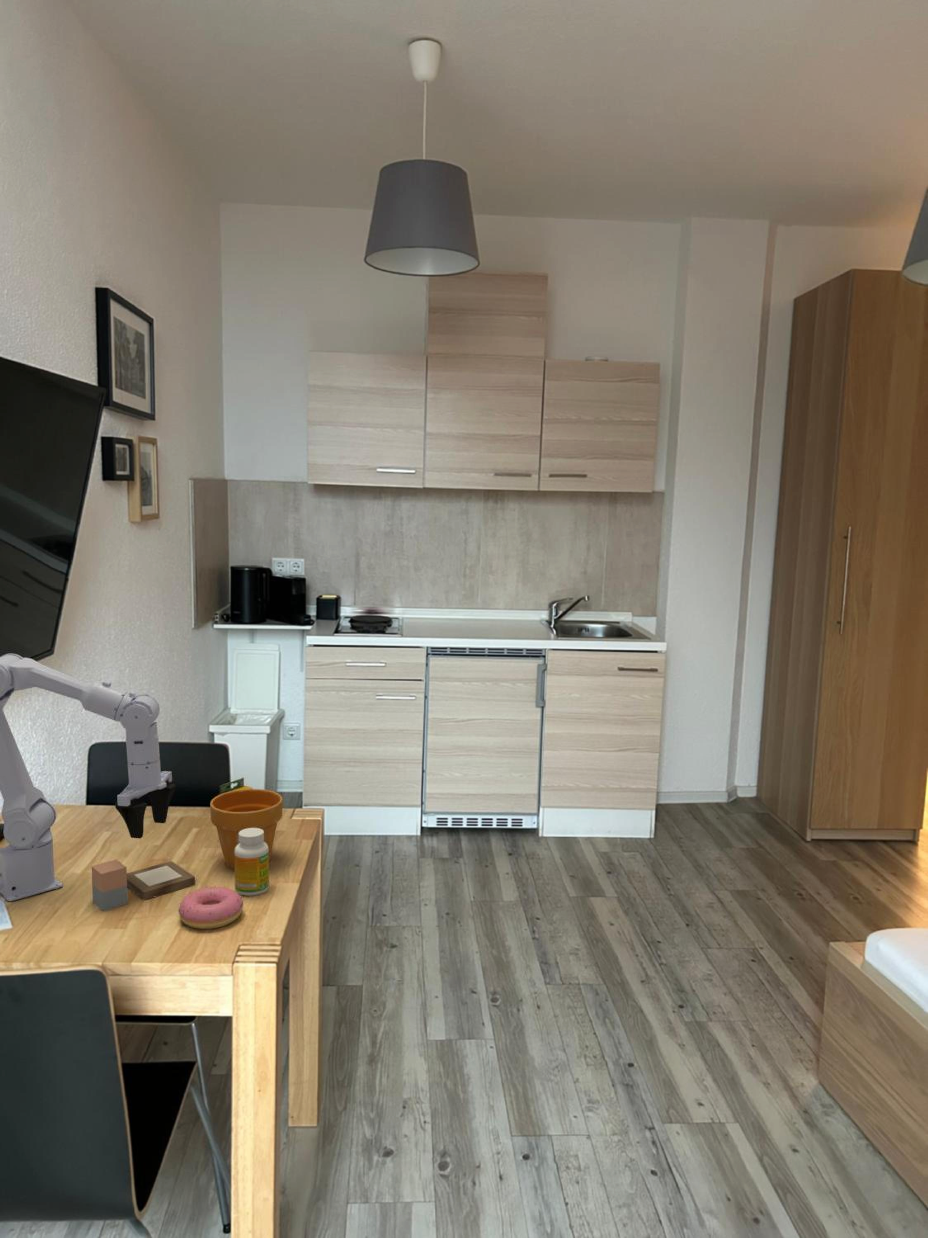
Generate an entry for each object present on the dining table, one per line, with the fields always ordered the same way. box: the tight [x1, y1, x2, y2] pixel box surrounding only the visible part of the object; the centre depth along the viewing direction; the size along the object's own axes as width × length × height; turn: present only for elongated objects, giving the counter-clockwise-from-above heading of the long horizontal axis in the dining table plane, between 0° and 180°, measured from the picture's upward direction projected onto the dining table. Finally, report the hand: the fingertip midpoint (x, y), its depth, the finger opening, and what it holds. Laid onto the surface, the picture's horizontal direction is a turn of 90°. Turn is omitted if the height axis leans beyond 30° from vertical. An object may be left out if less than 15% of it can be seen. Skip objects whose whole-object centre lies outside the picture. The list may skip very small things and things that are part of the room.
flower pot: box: [209, 788, 283, 870], centre depth 175 cm, size 14×14×13 cm
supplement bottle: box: [234, 828, 270, 897], centre depth 162 cm, size 6×6×11 cm
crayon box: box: [219, 777, 254, 795], centre depth 190 cm, size 7×3×12 cm, turn 148°
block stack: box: [91, 859, 129, 912], centre depth 156 cm, size 4×4×7 cm
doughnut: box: [177, 886, 244, 930], centre depth 152 cm, size 11×11×4 cm
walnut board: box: [127, 860, 196, 901], centre depth 165 cm, size 10×10×2 cm
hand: (148, 829), depth 163 cm, fingers open, 7 cm apart
